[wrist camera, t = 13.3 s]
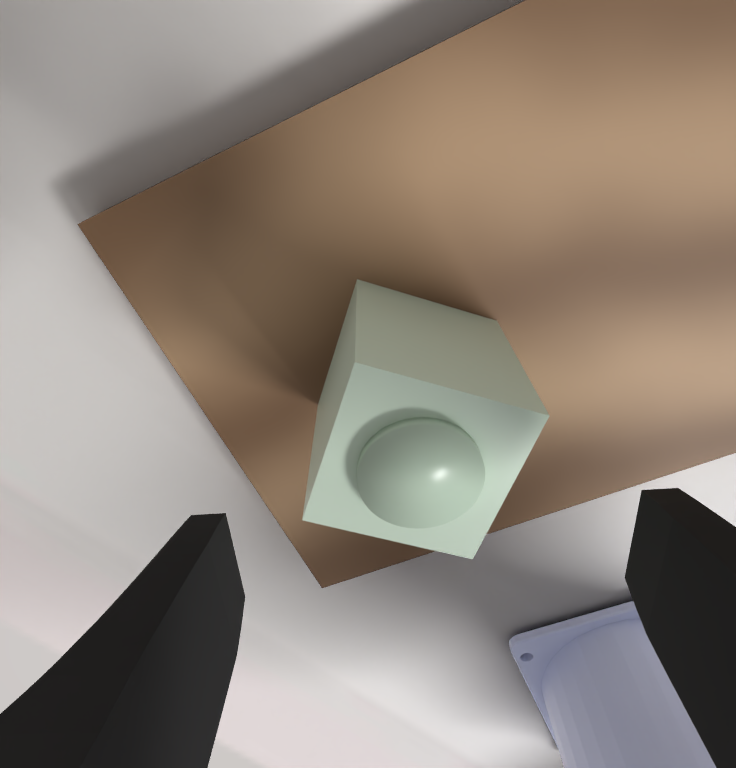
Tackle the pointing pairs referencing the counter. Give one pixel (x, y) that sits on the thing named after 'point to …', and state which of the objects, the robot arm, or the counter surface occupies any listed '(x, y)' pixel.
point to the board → (471, 249)
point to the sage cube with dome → (419, 424)
